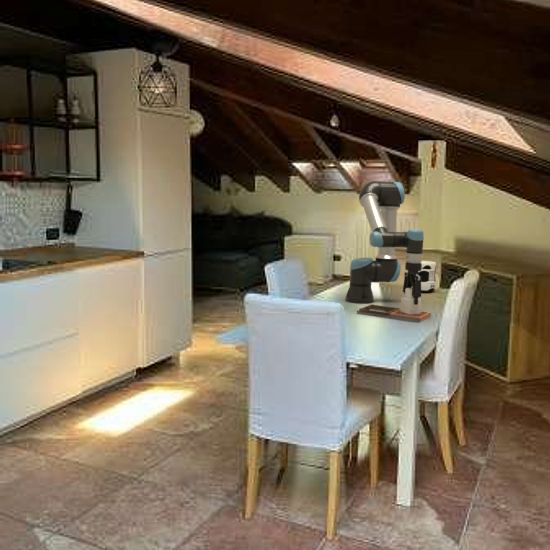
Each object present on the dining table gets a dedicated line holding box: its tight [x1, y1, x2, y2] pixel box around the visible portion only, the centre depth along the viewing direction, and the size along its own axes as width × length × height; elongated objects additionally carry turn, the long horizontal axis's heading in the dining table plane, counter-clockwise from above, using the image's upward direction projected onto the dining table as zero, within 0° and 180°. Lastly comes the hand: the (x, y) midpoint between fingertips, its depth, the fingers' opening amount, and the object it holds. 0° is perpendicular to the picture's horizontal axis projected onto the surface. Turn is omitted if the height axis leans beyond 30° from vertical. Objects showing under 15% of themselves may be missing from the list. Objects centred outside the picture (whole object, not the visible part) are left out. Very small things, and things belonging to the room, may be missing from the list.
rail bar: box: [356, 310, 421, 323], centre depth 288 cm, size 2×31×1 cm, turn 58°
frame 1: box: [358, 304, 400, 315], centre depth 300 cm, size 15×15×2 cm
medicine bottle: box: [399, 288, 422, 315], centre depth 291 cm, size 7×7×12 cm
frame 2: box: [390, 308, 432, 323], centre depth 292 cm, size 15×15×2 cm
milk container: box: [411, 260, 437, 293], centre depth 369 cm, size 17×17×18 cm
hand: (410, 309), depth 291 cm, fingers closed on medicine bottle, 8 cm apart
